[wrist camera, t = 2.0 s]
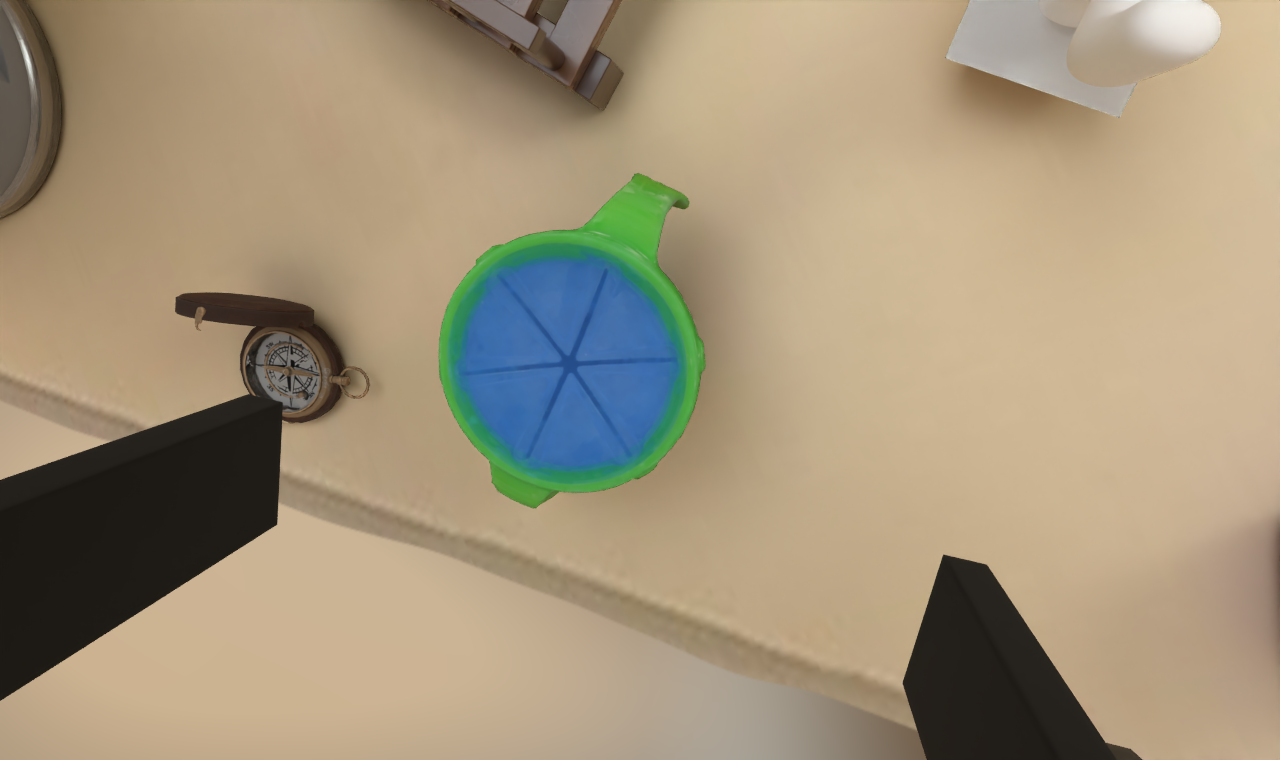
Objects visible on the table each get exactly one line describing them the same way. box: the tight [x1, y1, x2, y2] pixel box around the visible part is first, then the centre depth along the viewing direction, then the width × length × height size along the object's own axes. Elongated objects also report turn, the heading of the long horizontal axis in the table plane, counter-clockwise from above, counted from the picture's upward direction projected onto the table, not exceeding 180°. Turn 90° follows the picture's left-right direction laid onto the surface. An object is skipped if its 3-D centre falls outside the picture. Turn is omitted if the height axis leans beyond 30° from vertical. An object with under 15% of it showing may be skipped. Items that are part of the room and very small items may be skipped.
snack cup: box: [439, 173, 705, 508], centre depth 32 cm, size 16×10×10 cm
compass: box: [175, 293, 370, 423], centre depth 36 cm, size 8×8×7 cm
